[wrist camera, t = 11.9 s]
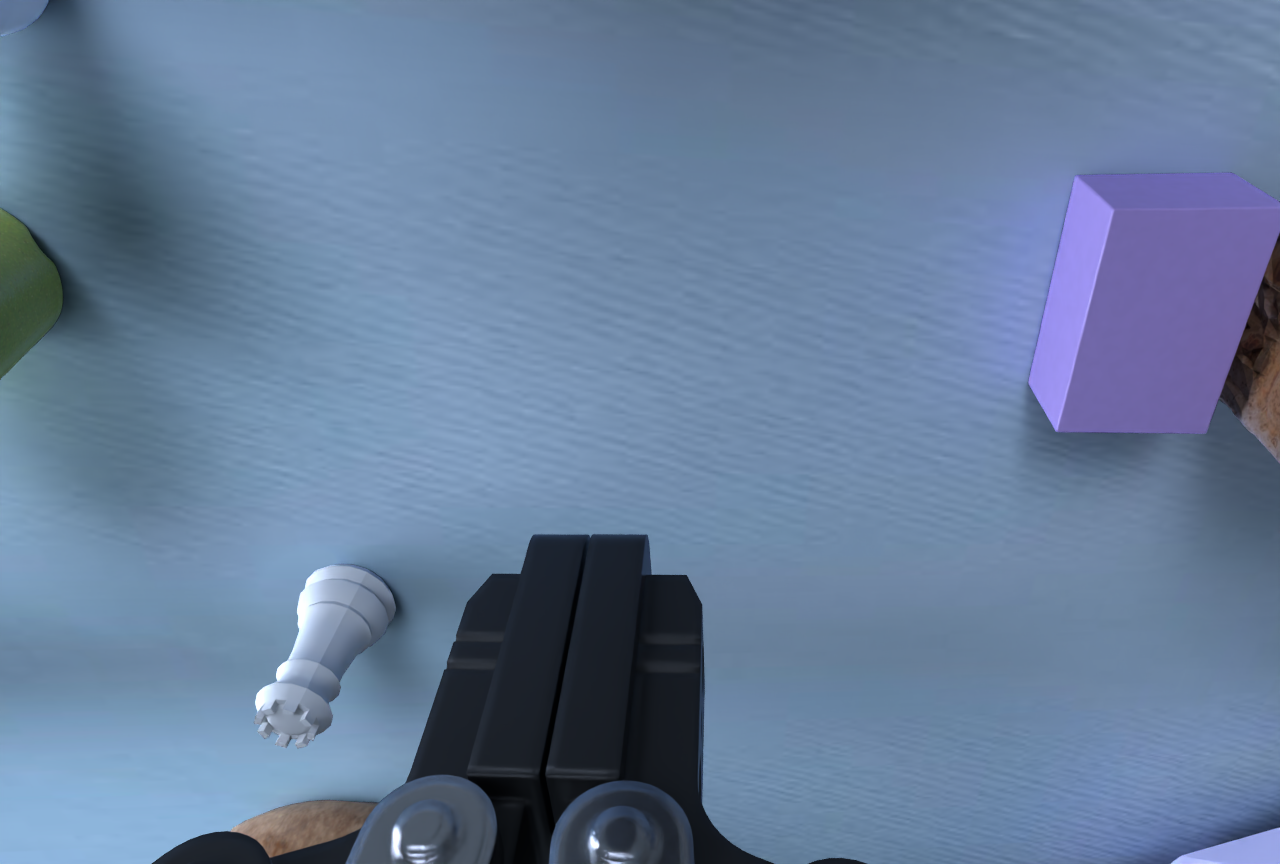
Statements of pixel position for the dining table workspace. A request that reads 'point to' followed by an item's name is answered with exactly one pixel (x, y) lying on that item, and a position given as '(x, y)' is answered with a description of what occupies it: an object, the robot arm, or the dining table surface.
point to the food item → (1259, 364)
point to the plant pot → (24, 292)
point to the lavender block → (1150, 300)
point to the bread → (305, 824)
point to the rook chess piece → (323, 650)
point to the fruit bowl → (1239, 851)
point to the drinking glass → (19, 14)
